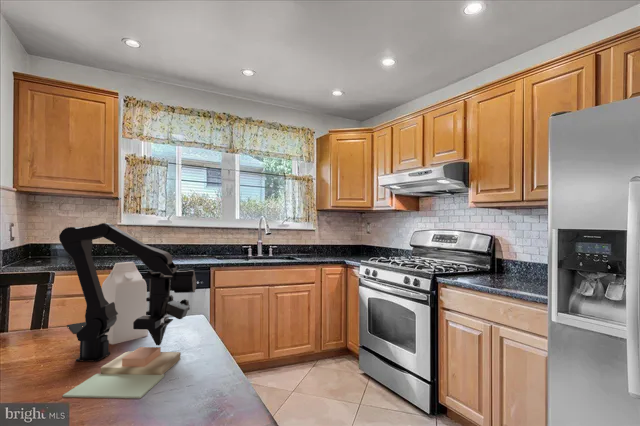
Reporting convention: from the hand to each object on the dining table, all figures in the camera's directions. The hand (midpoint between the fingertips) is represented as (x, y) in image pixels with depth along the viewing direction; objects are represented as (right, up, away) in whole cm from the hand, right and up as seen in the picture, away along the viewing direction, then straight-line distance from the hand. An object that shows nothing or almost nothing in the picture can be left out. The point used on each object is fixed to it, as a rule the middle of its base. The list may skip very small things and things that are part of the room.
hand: (158, 345), depth 108 cm
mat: (0, -2, -21) cm, 21 cm away
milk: (-20, -4, +17) cm, 27 cm away
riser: (0, -3, -9) cm, 9 cm away
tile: (0, -1, -10) cm, 10 cm away
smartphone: (-42, -4, +28) cm, 51 cm away
